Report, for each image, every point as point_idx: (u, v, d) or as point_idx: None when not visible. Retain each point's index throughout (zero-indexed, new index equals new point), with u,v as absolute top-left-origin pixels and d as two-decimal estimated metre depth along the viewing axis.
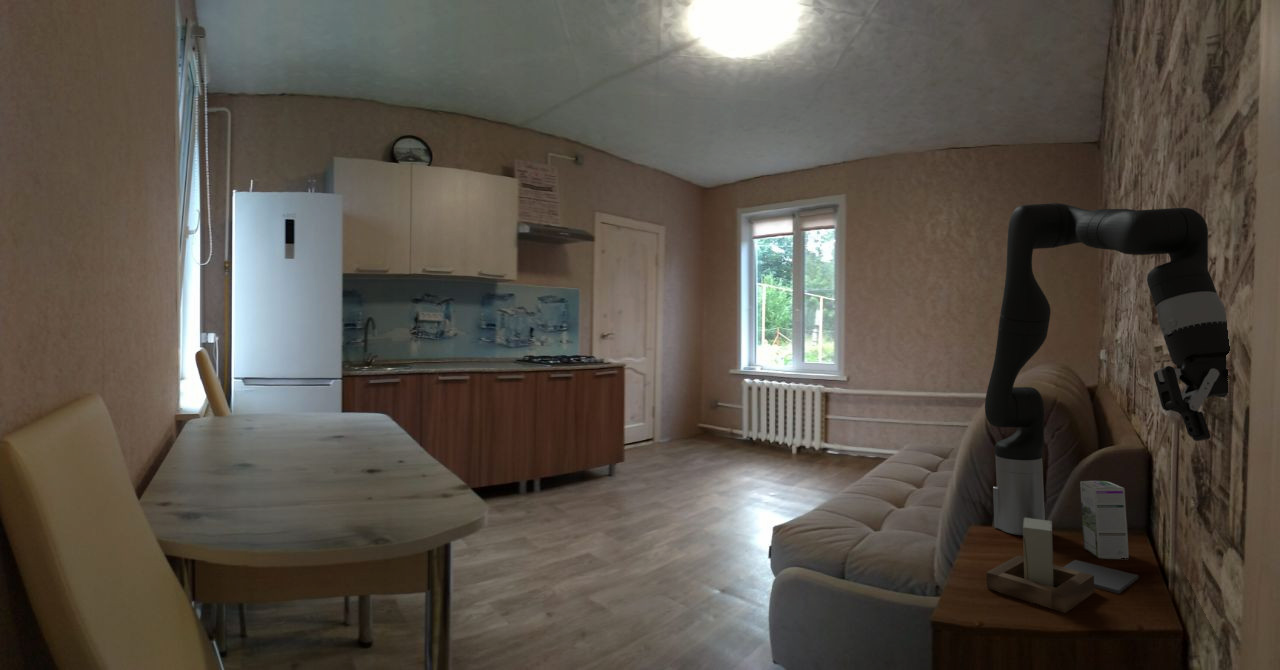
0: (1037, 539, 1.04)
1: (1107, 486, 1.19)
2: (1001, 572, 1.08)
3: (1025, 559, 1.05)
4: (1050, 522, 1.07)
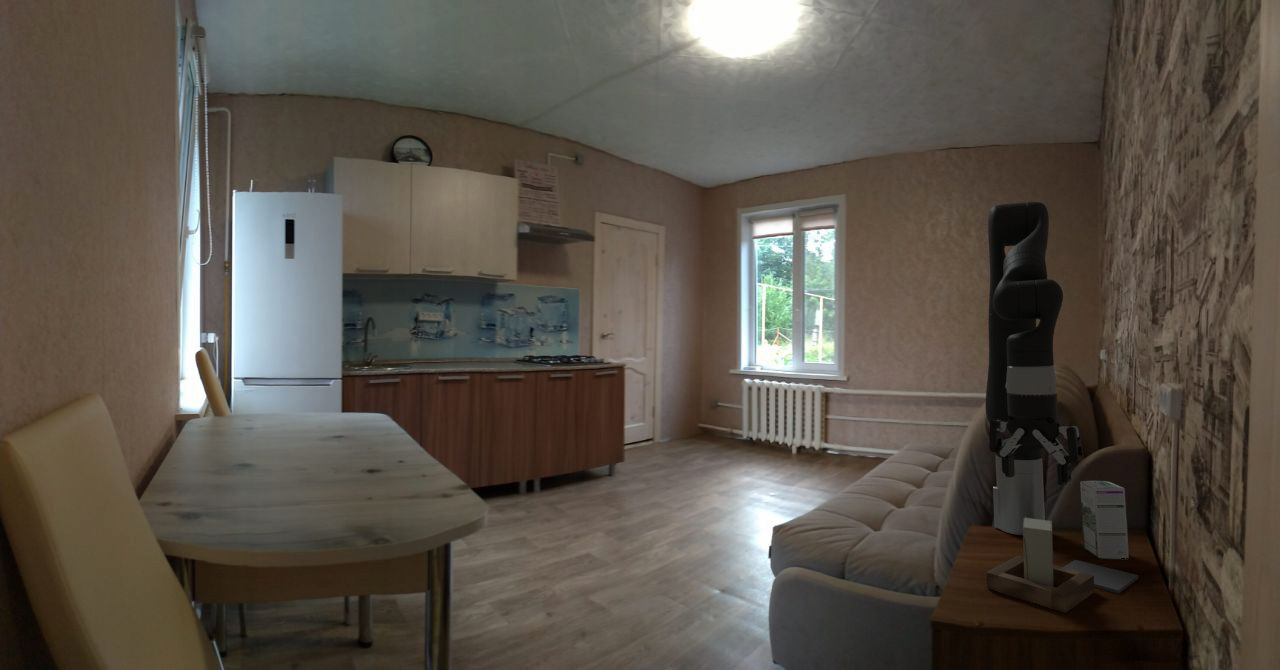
0: (1037, 539, 1.04)
1: (1107, 486, 1.19)
2: (1001, 572, 1.08)
3: (1025, 559, 1.05)
4: (1050, 522, 1.07)
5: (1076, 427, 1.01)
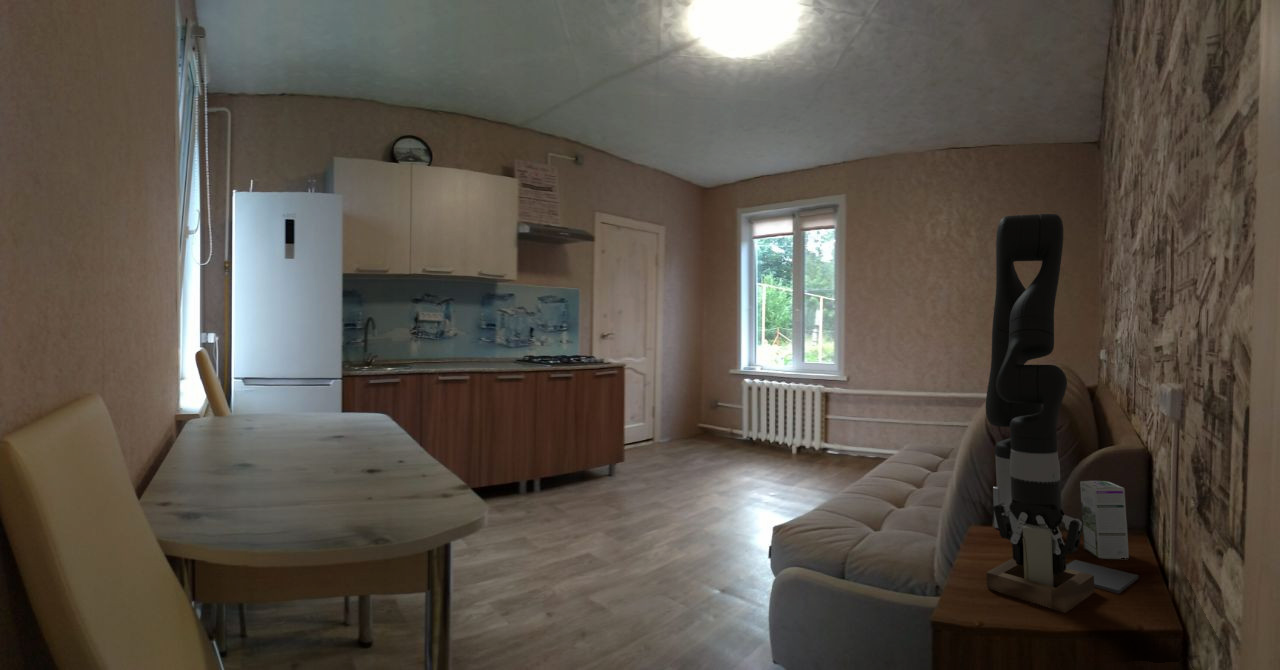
0: (1037, 539, 1.04)
1: (1107, 486, 1.19)
2: (1001, 572, 1.08)
3: (1025, 559, 1.05)
4: None
5: (1080, 521, 1.01)
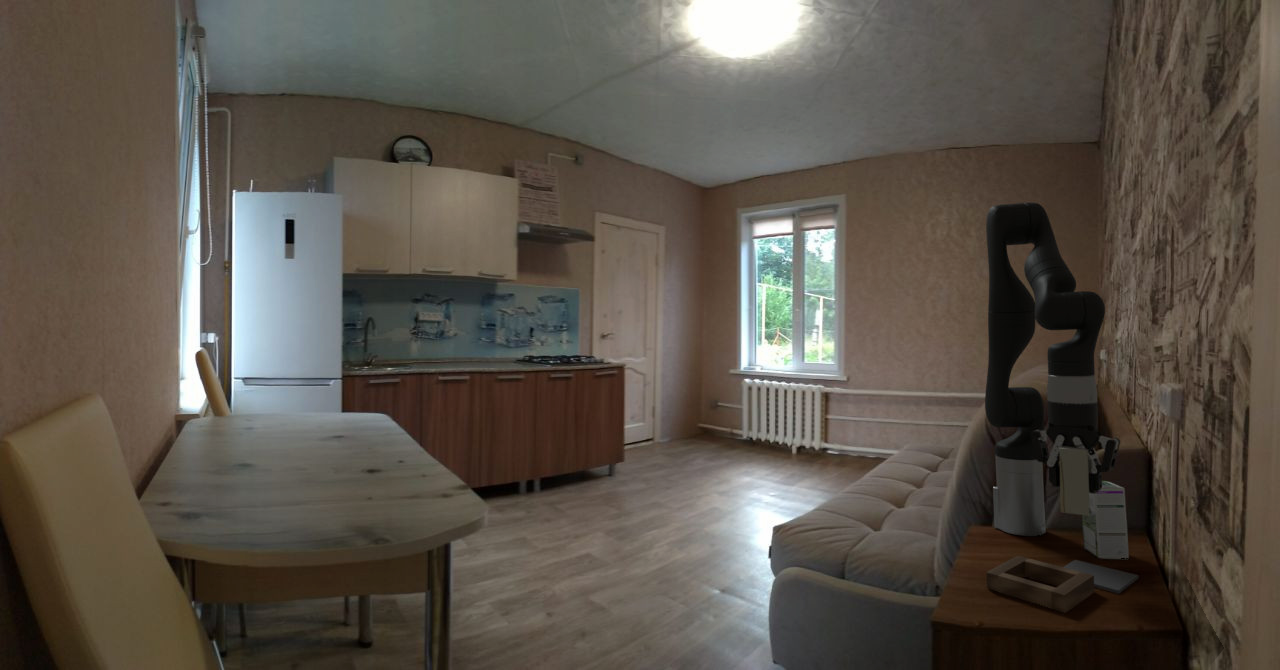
0: (1073, 459, 1.08)
1: (1107, 486, 1.19)
2: (1001, 572, 1.08)
3: (1061, 479, 1.09)
4: None
5: (1117, 440, 1.05)
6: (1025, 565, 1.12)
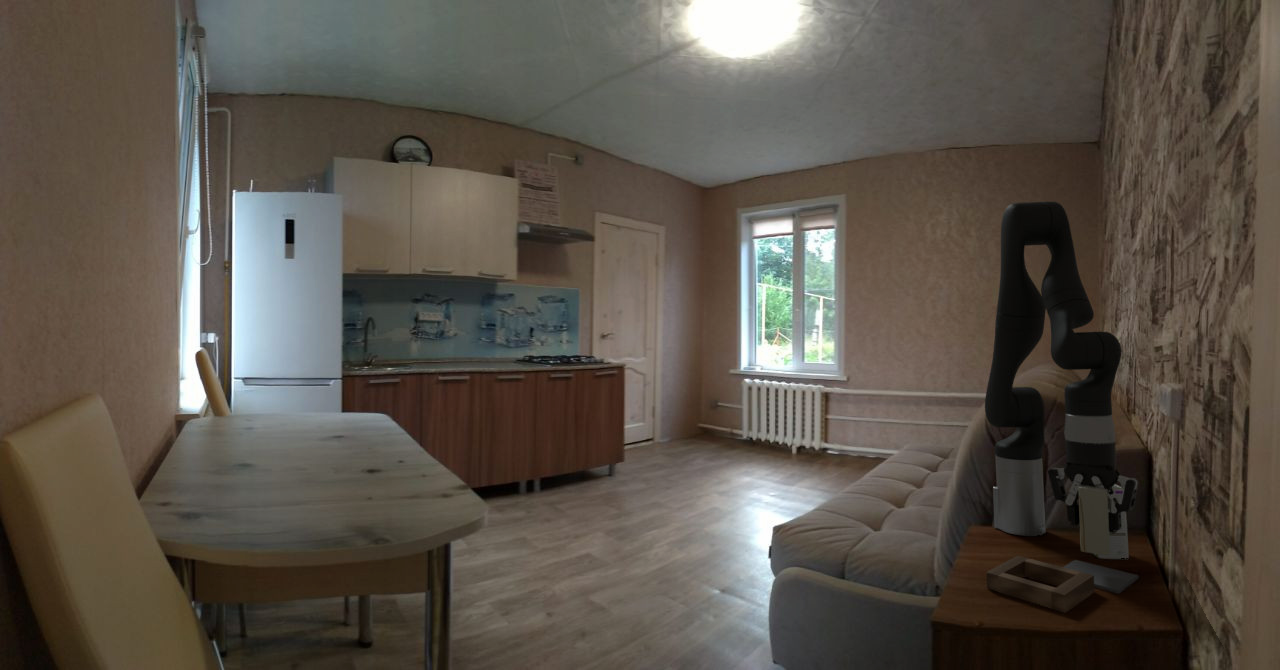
0: (1093, 498, 1.08)
1: None
2: (1001, 572, 1.08)
3: (1081, 518, 1.09)
4: None
5: (1136, 480, 1.05)
6: (1025, 565, 1.12)
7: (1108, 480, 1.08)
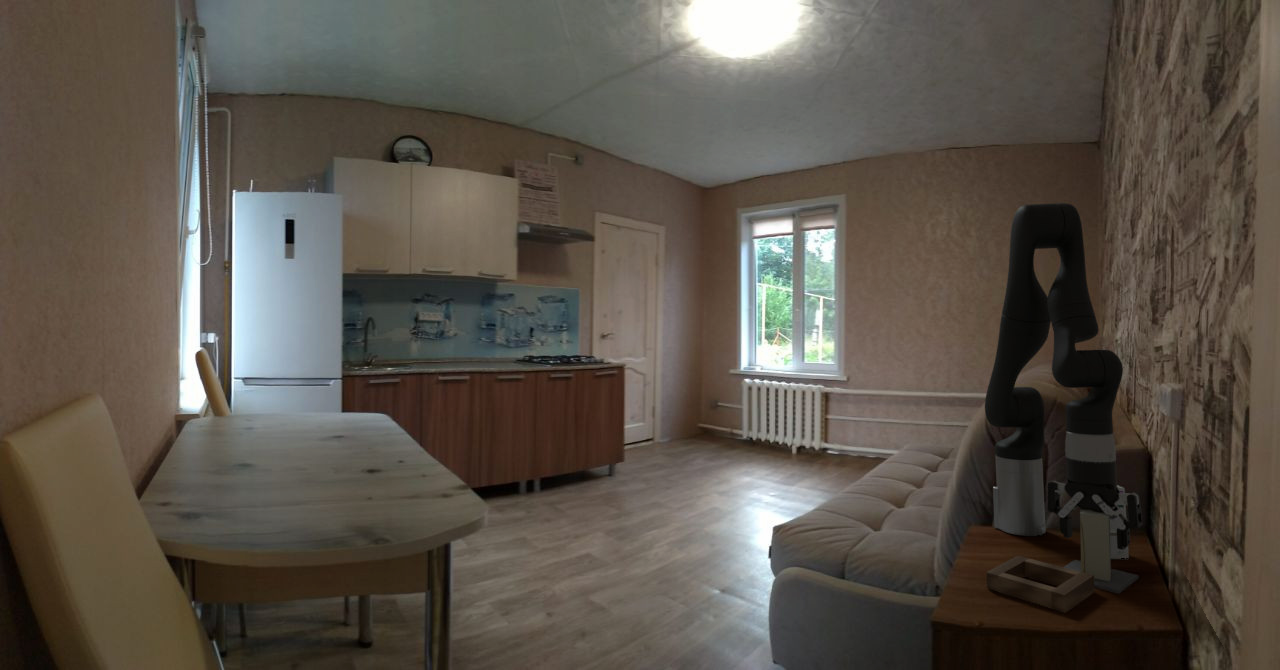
0: (1094, 524, 1.08)
1: None
2: (1001, 572, 1.08)
3: (1082, 543, 1.10)
4: None
5: (1136, 494, 1.05)
6: (1025, 565, 1.12)
7: (1108, 496, 1.08)
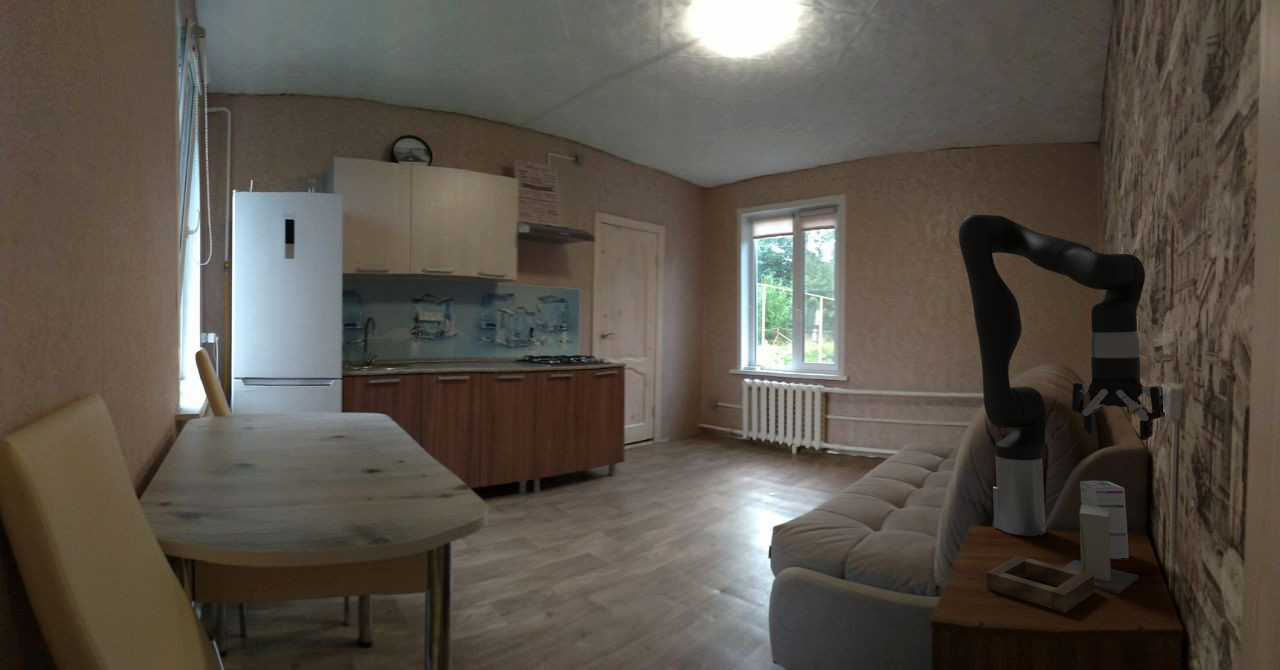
0: (1094, 524, 1.08)
1: (1107, 486, 1.19)
2: (1001, 572, 1.08)
3: (1082, 543, 1.10)
4: (1108, 509, 1.11)
5: (1159, 387, 1.11)
6: (1025, 565, 1.12)
7: (1132, 391, 1.14)
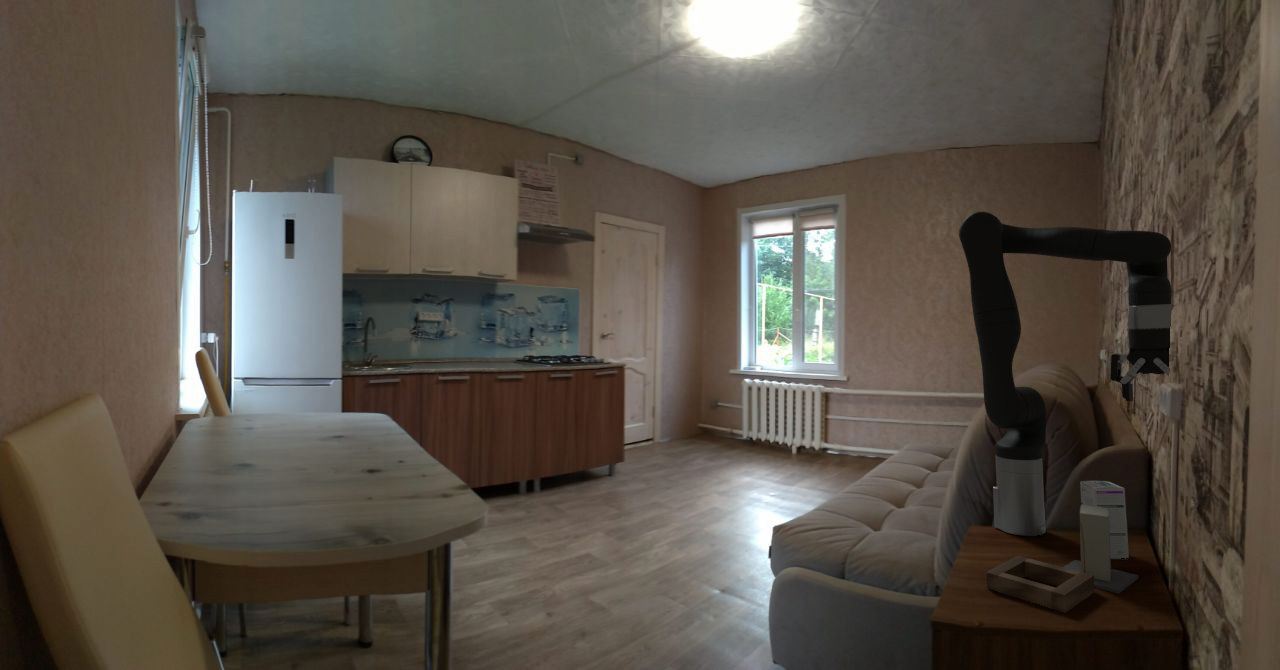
0: (1094, 524, 1.08)
1: (1107, 486, 1.19)
2: (1001, 572, 1.08)
3: (1082, 543, 1.10)
4: (1108, 509, 1.11)
5: None
6: (1025, 565, 1.12)
7: (1168, 358, 1.23)
